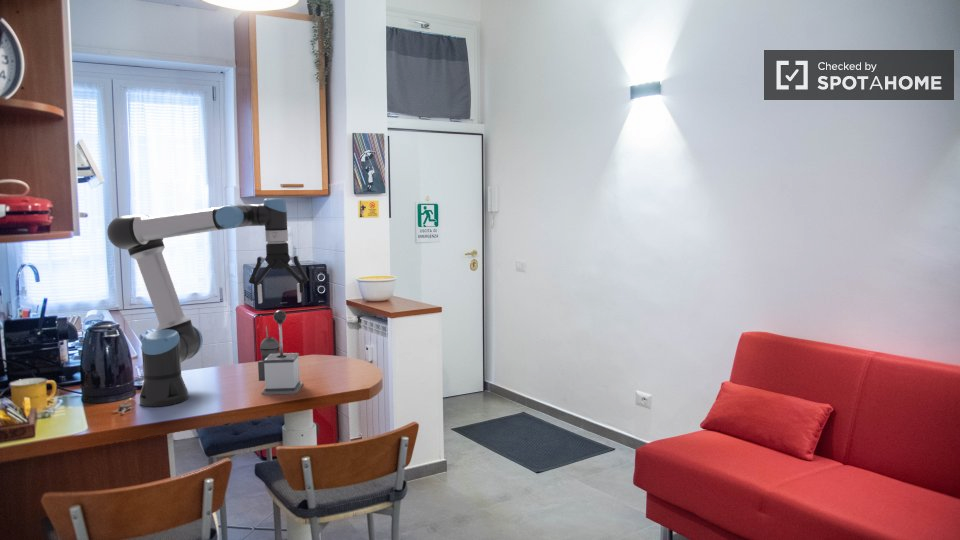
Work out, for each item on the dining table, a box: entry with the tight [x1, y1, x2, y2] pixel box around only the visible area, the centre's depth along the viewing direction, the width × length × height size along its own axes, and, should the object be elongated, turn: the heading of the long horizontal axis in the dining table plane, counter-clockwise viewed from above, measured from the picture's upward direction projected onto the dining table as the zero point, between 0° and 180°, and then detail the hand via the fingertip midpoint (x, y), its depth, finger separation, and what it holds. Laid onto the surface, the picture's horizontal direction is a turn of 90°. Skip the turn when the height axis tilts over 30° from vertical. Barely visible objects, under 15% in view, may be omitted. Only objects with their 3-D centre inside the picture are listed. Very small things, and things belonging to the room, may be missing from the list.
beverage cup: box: [259, 325, 280, 361], centre depth 261 cm, size 7×7×20 cm
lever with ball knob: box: [273, 309, 287, 358], centre depth 243 cm, size 8×8×20 cm
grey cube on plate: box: [257, 352, 304, 396], centre depth 245 cm, size 14×12×12 cm
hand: (280, 302), depth 242 cm, fingers open, 13 cm apart
